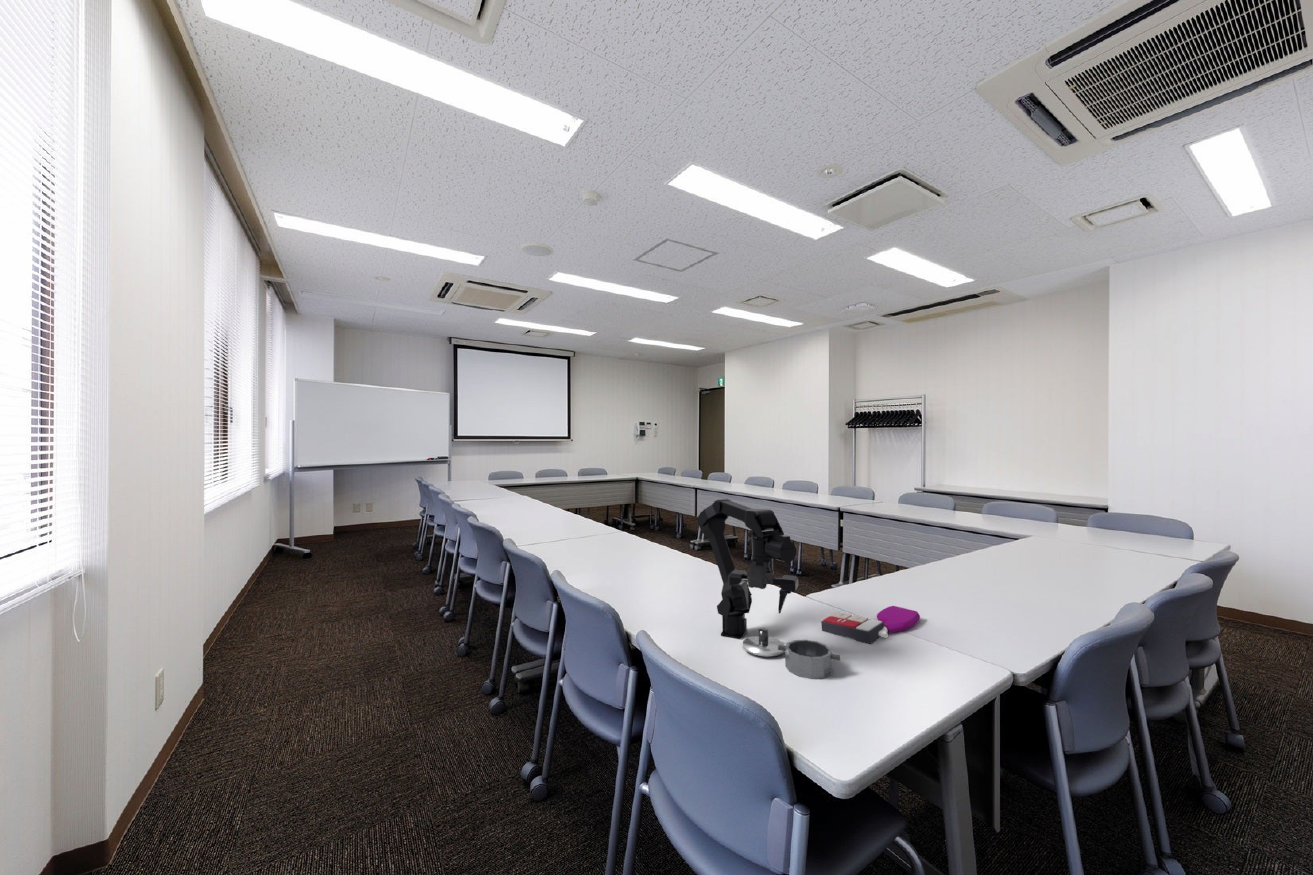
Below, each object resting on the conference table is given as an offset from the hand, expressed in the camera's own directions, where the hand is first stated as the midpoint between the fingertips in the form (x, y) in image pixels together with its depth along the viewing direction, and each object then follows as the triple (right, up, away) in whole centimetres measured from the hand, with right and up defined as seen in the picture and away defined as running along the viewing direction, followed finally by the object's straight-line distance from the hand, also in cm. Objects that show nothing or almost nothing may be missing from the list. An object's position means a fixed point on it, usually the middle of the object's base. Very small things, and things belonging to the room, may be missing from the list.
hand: (763, 610), depth 135 cm
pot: (+9, -11, -11) cm, 18 cm away
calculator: (+30, -11, +12) cm, 34 cm away
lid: (0, -11, 0) cm, 11 cm away
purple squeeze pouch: (+44, -11, +16) cm, 48 cm away
